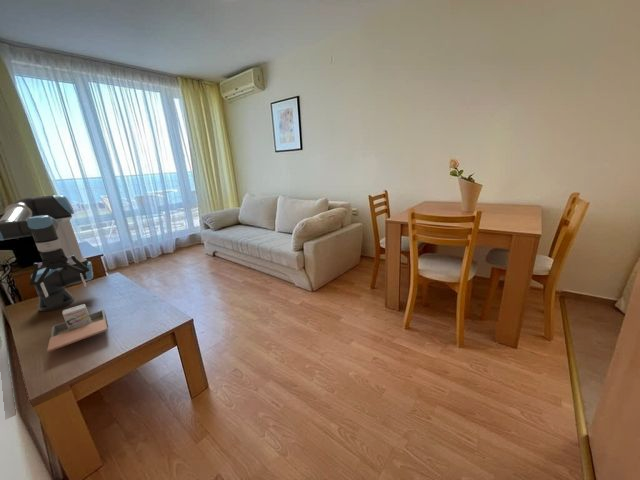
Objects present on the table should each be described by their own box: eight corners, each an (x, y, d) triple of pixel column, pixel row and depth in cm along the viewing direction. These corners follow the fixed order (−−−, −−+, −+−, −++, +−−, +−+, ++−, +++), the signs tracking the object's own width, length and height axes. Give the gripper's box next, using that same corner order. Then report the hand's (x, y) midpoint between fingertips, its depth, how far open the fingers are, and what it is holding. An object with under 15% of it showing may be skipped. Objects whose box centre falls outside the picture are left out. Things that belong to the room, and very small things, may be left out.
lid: (47, 350, 107) (47, 352, 108) (106, 328, 120) (107, 330, 120) (50, 337, 117) (50, 339, 117) (105, 318, 130) (105, 320, 130)
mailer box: (55, 333, 128) (52, 326, 127) (106, 316, 141) (103, 309, 139) (54, 346, 119) (50, 338, 117) (108, 326, 131) (105, 319, 130)
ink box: (70, 335, 125) (61, 314, 121) (70, 330, 128) (62, 310, 125) (92, 327, 131) (85, 306, 127) (92, 322, 134) (85, 303, 130)
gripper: (7, 259, 106) (28, 303, 112) (86, 244, 122) (100, 284, 128) (11, 255, 111) (30, 297, 118) (86, 241, 127) (99, 279, 134)
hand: (66, 290), depth 123 cm, fingers open, 13 cm apart
